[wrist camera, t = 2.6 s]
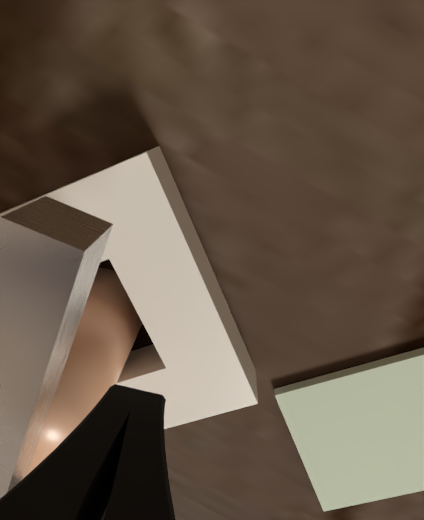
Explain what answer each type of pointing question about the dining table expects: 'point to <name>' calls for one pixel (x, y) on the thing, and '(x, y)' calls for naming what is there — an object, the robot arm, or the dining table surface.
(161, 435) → the robot arm
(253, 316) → the dining table surface
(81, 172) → the dining table surface
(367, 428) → the mat
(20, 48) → the dining table surface
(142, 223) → the socket block
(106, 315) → the plug
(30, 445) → the grey long bar
